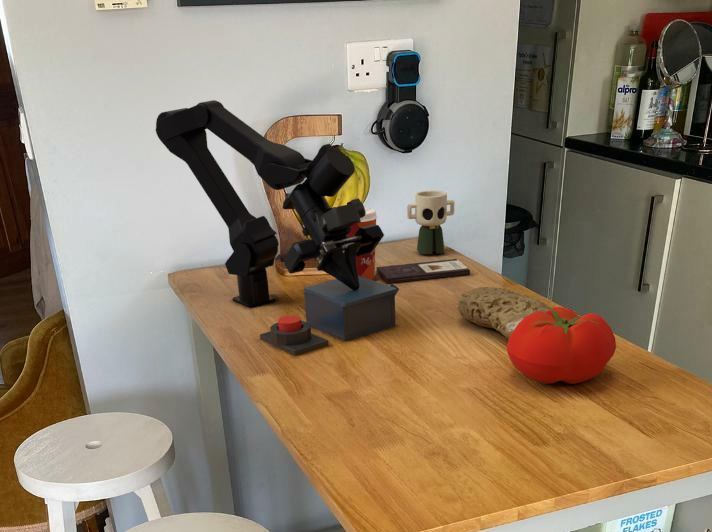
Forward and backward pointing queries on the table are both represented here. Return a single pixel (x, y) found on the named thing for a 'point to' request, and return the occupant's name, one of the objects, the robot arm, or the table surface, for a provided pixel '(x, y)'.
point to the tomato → (561, 346)
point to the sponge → (498, 308)
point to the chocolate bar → (422, 270)
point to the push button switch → (294, 339)
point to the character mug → (430, 219)
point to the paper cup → (367, 261)
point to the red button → (289, 323)
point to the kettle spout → (395, 287)
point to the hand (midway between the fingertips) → (356, 288)
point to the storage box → (350, 316)
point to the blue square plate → (350, 291)
